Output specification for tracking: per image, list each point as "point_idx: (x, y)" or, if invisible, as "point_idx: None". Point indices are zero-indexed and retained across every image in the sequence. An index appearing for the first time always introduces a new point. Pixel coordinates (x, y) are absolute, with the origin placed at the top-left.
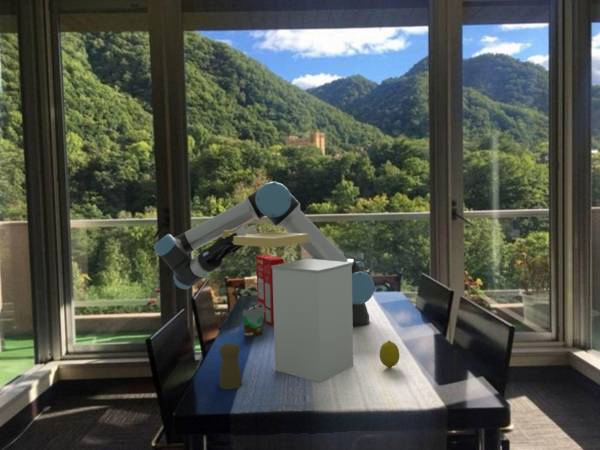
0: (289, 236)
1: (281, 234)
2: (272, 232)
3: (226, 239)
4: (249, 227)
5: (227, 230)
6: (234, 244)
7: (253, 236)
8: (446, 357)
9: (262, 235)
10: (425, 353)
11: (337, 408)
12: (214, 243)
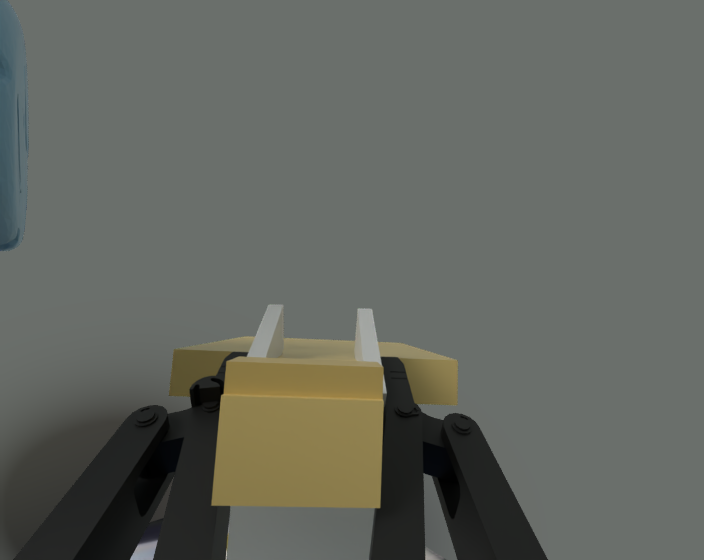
0: (335, 340)
1: (290, 342)
2: (208, 346)
3: (424, 422)
4: (277, 321)
5: (328, 361)
6: (455, 402)
7: (399, 350)
8: (156, 529)
9: (351, 347)
10: (135, 554)
11: (427, 555)
12: (525, 519)
